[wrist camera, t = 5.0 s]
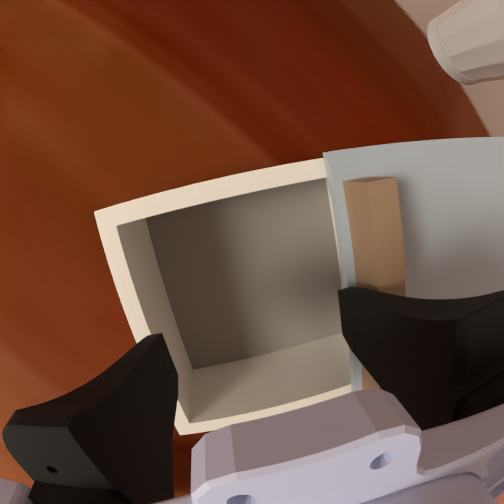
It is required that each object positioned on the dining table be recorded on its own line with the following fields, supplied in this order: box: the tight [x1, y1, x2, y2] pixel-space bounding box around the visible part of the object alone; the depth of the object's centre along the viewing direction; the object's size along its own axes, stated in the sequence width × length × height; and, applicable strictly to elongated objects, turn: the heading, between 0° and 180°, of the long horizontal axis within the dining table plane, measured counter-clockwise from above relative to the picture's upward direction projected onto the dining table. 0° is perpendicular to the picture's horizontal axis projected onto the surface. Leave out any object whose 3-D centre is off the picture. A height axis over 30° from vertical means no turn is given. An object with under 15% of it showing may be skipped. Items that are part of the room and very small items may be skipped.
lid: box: [323, 137, 504, 392], centre depth 12 cm, size 12×12×2 cm
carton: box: [94, 158, 351, 435], centre depth 16 cm, size 12×19×6 cm, turn 102°
